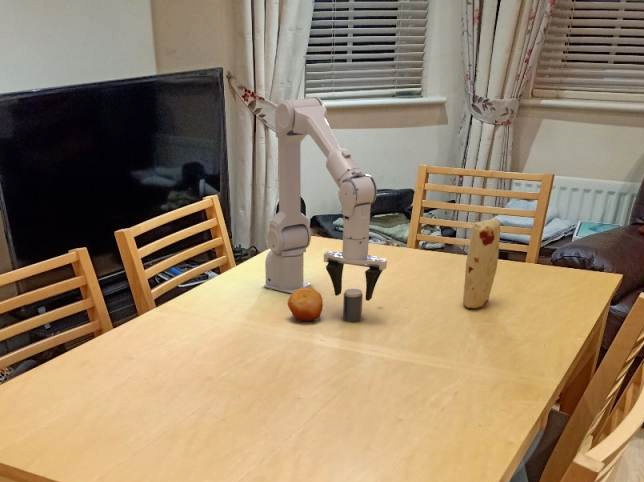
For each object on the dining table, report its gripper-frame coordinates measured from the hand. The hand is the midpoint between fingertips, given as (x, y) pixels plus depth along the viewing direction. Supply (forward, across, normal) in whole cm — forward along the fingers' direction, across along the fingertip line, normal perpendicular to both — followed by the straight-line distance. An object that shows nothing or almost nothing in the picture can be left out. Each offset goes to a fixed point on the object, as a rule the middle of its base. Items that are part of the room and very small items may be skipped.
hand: (353, 296), depth 174 cm
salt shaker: (+5, 0, 0) cm, 5 cm away
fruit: (+6, +10, +5) cm, 12 cm away
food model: (+5, -23, -22) cm, 32 cm away
